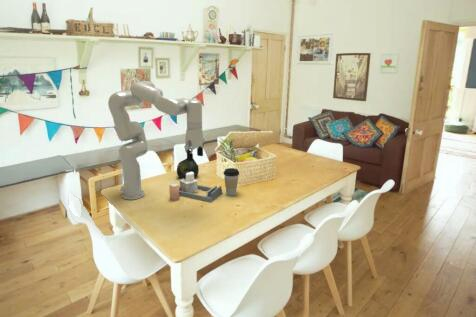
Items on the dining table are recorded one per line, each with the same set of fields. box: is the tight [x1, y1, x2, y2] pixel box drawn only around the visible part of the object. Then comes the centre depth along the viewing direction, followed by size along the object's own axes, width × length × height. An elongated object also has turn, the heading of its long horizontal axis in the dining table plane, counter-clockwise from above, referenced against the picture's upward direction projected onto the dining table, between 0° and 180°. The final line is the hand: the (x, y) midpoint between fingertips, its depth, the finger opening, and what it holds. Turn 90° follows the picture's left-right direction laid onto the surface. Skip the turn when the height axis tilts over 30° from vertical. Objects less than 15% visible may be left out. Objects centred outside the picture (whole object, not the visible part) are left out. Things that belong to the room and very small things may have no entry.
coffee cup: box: [222, 167, 240, 197], centre depth 191 cm, size 9×9×15 cm
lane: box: [179, 184, 223, 203], centre depth 191 cm, size 26×14×5 cm, turn 66°
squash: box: [176, 158, 200, 179], centre depth 216 cm, size 14×15×15 cm
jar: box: [168, 182, 181, 202], centre depth 184 cm, size 6×6×9 cm
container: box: [179, 171, 199, 194], centre depth 193 cm, size 8×8×13 cm
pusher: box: [205, 185, 218, 197], centre depth 188 cm, size 1×11×5 cm, turn 156°
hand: (195, 158), depth 164 cm, fingers open, 9 cm apart
